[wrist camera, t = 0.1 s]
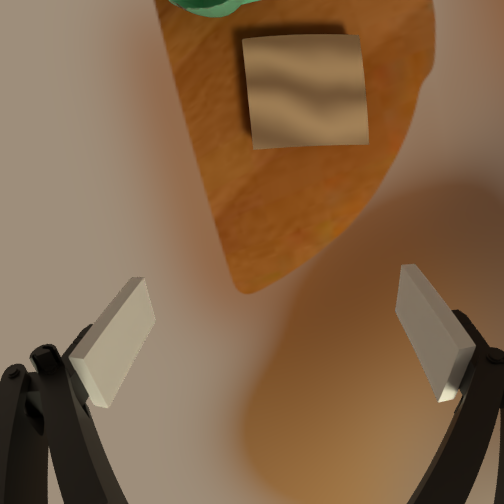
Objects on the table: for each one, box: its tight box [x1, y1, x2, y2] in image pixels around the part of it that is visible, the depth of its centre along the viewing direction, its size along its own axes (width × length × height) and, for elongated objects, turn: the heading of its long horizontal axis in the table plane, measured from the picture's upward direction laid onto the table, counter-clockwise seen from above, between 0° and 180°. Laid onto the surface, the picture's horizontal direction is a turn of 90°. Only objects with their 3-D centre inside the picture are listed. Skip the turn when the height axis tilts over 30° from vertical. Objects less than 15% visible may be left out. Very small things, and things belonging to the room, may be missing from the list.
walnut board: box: [242, 34, 369, 150], centre depth 35 cm, size 14×14×3 cm
